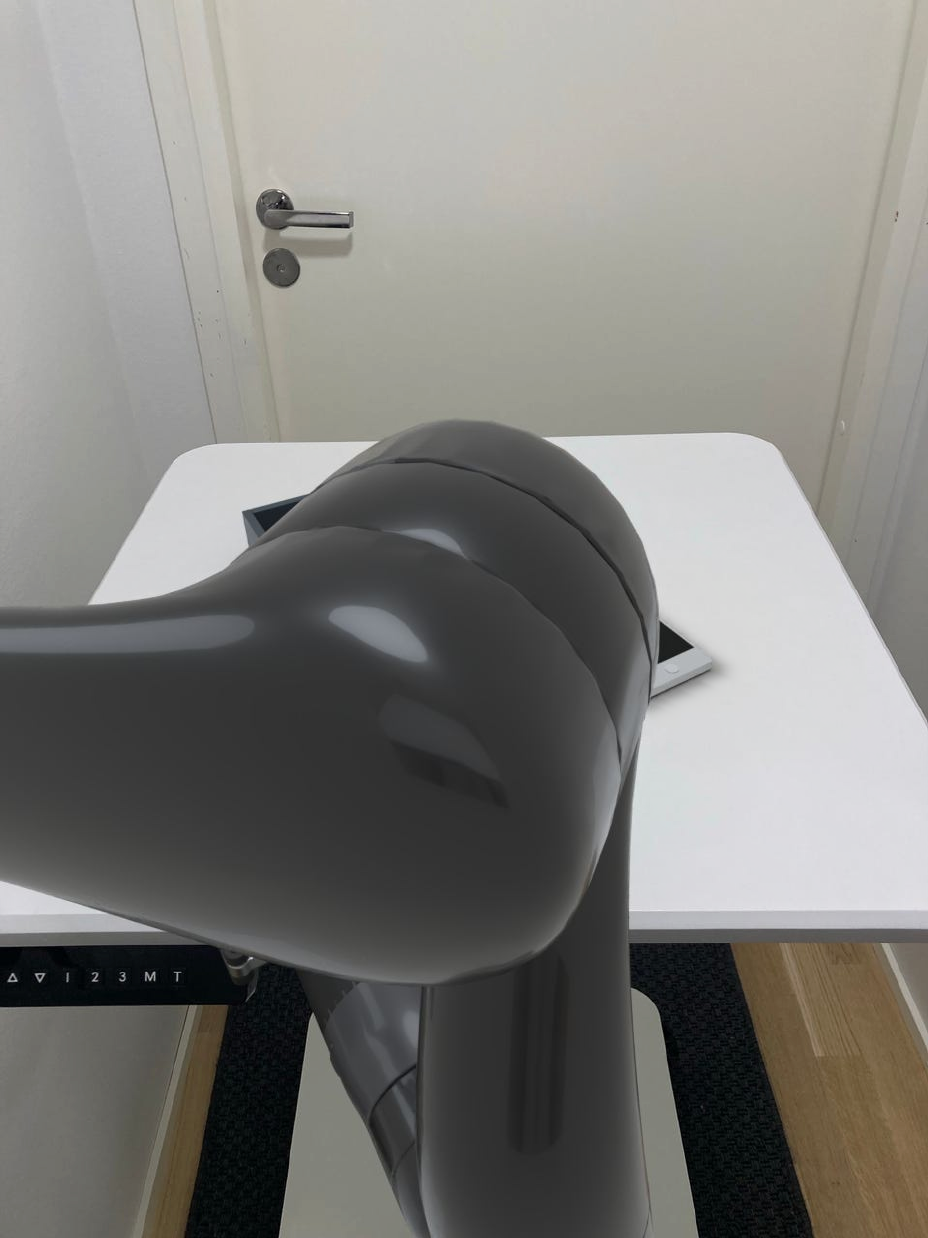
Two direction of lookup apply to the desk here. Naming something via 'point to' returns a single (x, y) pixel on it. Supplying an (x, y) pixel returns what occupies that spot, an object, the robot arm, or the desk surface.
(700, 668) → the smartphone
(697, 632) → the desk surface
